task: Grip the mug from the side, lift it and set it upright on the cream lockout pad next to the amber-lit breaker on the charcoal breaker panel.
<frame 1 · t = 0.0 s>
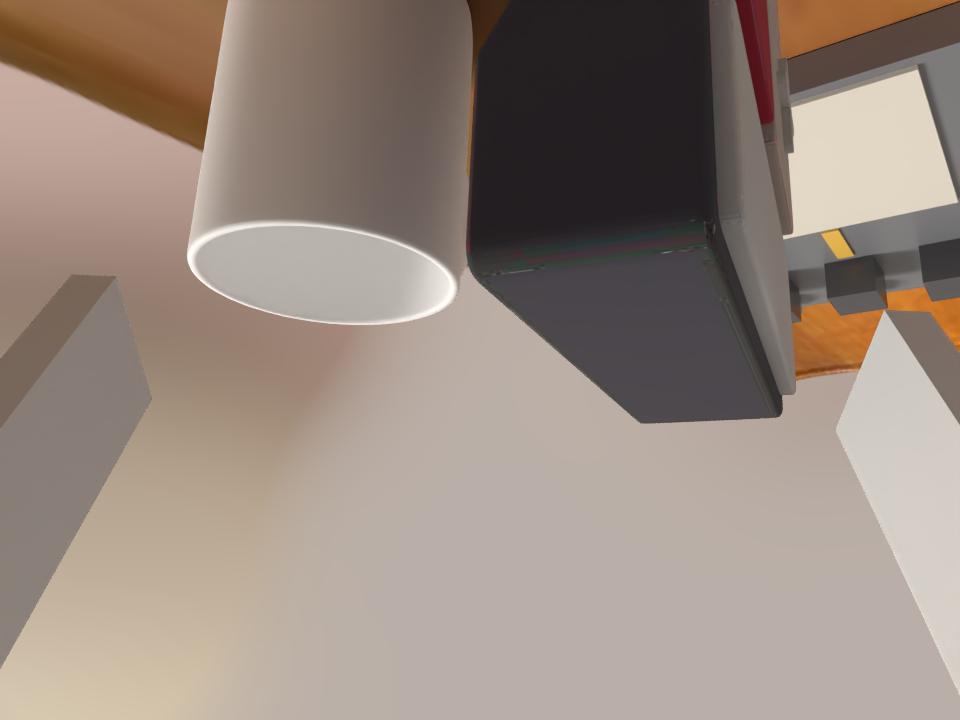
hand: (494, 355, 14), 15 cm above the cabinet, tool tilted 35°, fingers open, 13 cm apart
mug: (387, 34, 29), on the cabinet
breaker panel: (821, 194, 39), on the cabinet
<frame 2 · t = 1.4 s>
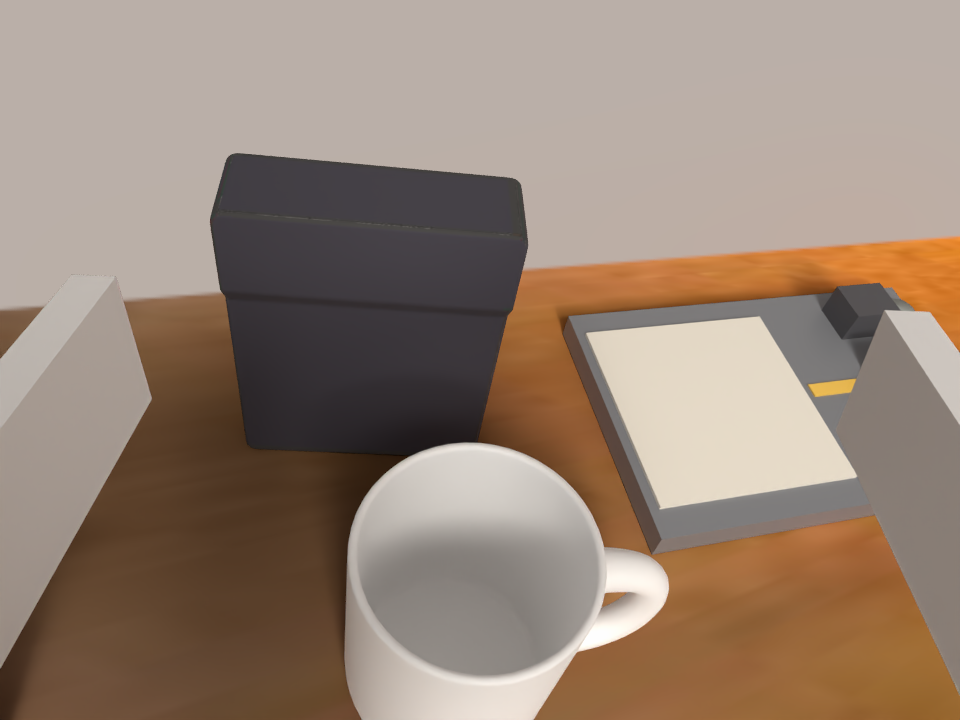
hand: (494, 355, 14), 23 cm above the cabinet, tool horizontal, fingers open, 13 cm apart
mug: (488, 662, 33), on the cabinet
dark grey box: (363, 431, 40), on the cabinet
breaker panel: (783, 409, 45), on the cabinet
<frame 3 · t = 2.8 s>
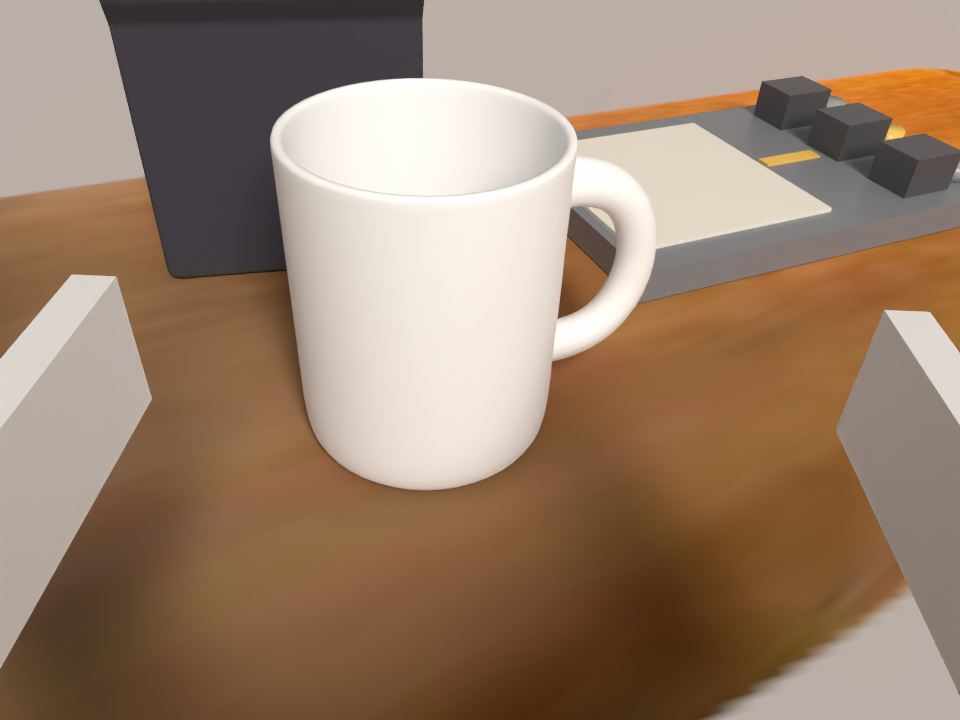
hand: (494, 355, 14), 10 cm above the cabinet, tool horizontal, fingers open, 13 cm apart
mug: (477, 407, 29), on the cabinet
dark grey box: (300, 256, 36), on the cabinet
breaker panel: (740, 192, 42), on the cabinet
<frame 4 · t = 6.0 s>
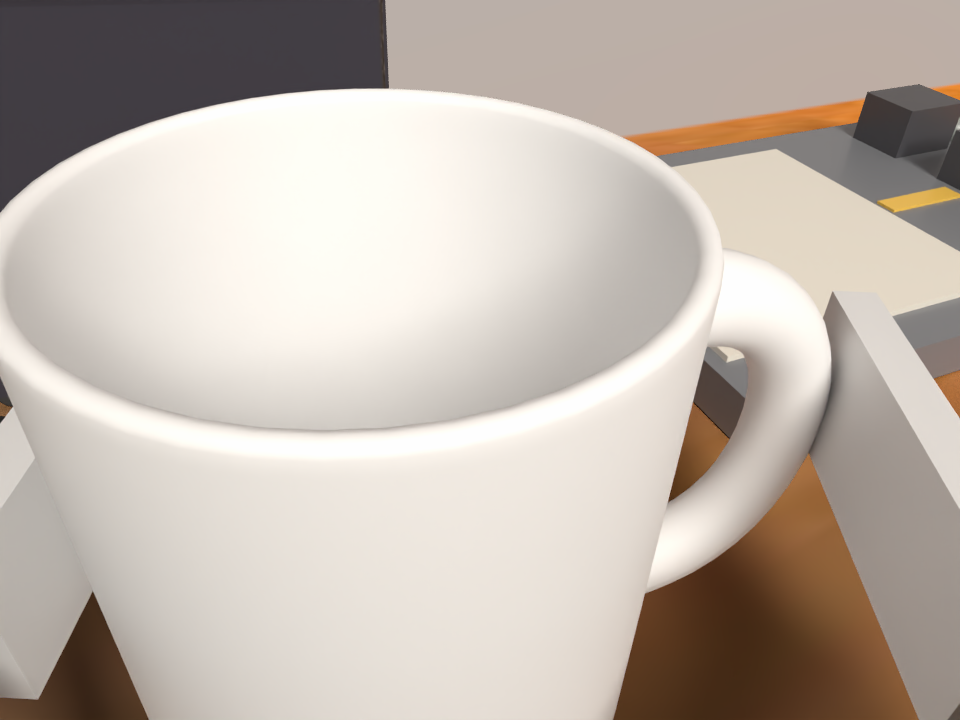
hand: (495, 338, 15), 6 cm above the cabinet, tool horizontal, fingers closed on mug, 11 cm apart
mug: (487, 666, 16), on the cabinet, touching gripper
dark grey box: (212, 361, 24), on the cabinet
breaker panel: (851, 248, 30), on the cabinet
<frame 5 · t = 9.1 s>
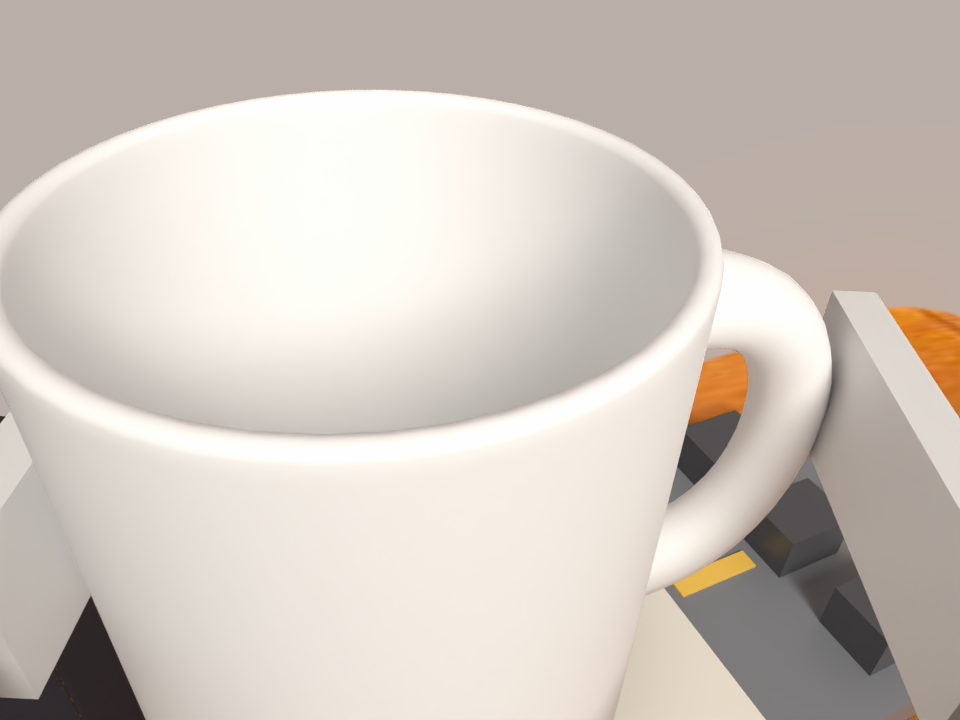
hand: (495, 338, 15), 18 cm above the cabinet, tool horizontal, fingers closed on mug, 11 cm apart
mug: (486, 668, 16), point 12 cm above the cabinet, touching gripper
breaker panel: (648, 622, 31), on the cabinet
when the fingers open (9 cm above the cabinet, at t = 12.4 s): mug drops 1 cm, resting on breaker panel.
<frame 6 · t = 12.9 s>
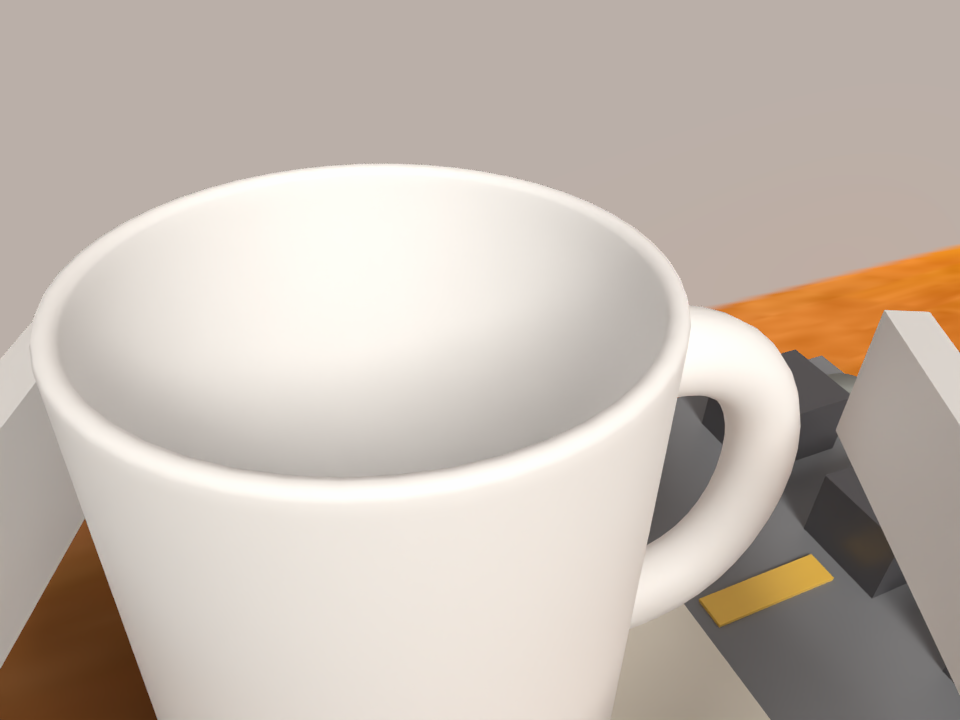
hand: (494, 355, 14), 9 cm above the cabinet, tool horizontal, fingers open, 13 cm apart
mug: (485, 700, 17), point 2 cm above the cabinet, touching breaker panel
breaker panel: (663, 664, 20), on the cabinet
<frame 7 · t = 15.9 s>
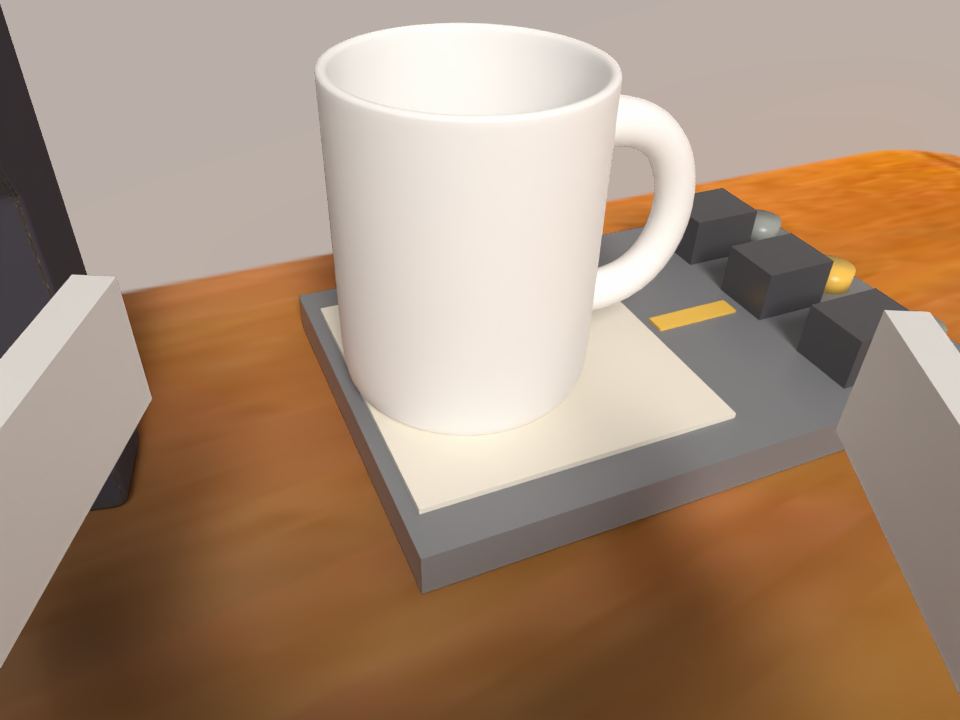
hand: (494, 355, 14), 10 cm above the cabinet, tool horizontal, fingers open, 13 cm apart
mug: (515, 360, 28), point 2 cm above the cabinet, touching breaker panel
breaker panel: (626, 362, 31), on the cabinet
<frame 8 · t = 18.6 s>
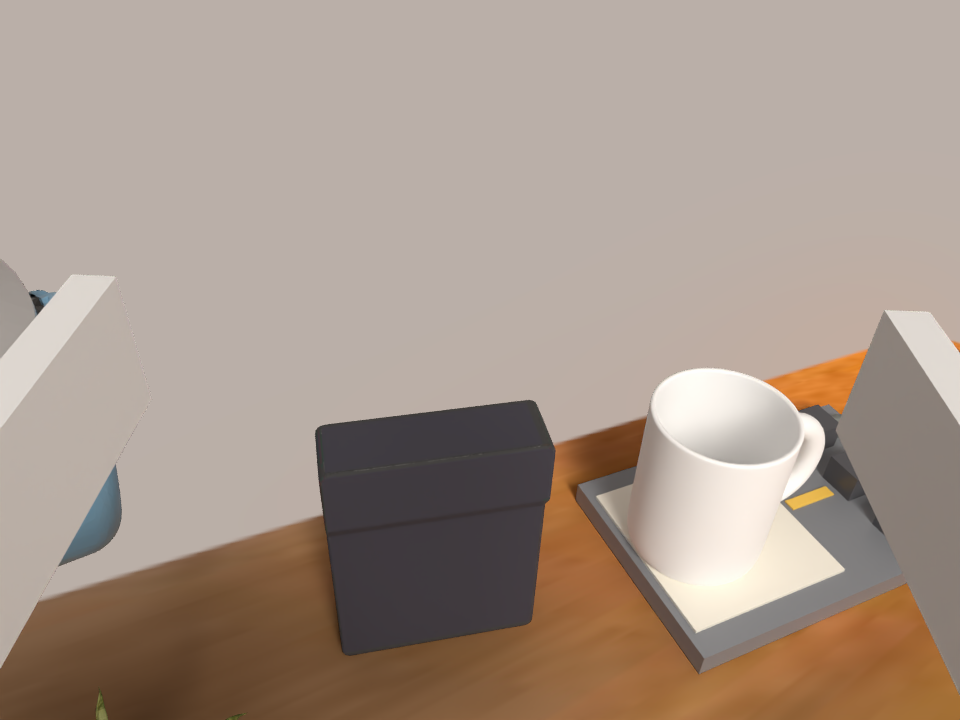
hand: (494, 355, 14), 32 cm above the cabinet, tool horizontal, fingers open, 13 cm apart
mug: (716, 532, 51), point 2 cm above the cabinet, touching breaker panel
dark grey box: (435, 620, 47), on the cabinet
breaker panel: (771, 525, 53), on the cabinet
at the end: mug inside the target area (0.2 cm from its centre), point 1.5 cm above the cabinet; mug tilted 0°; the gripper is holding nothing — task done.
